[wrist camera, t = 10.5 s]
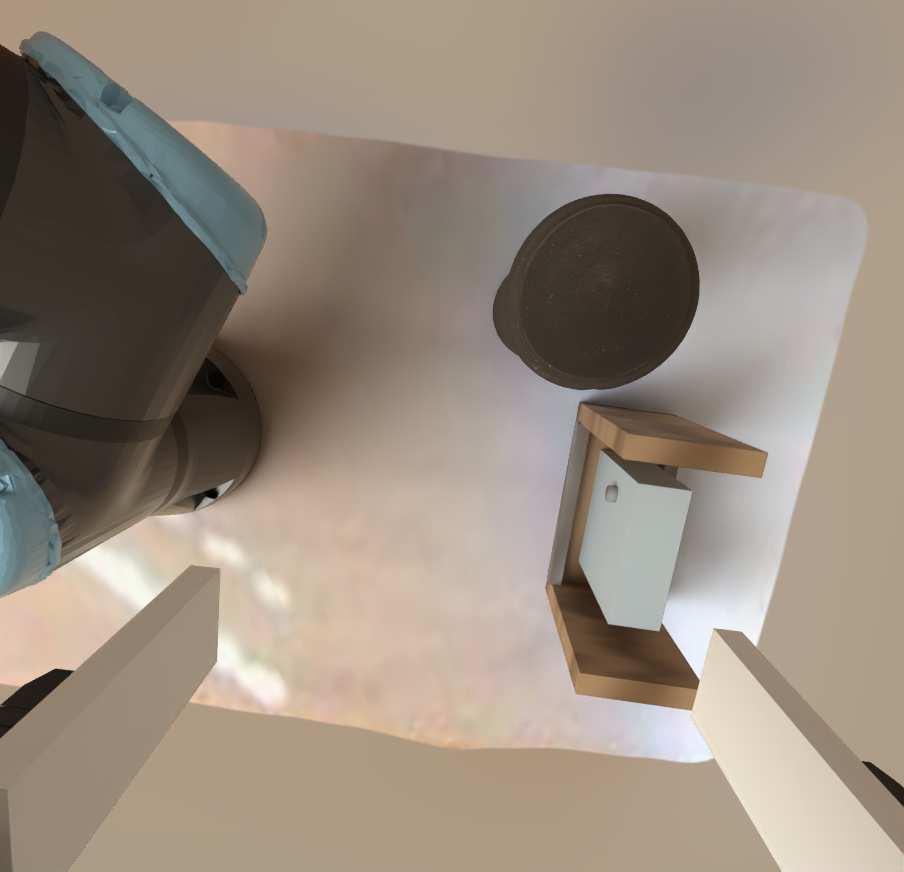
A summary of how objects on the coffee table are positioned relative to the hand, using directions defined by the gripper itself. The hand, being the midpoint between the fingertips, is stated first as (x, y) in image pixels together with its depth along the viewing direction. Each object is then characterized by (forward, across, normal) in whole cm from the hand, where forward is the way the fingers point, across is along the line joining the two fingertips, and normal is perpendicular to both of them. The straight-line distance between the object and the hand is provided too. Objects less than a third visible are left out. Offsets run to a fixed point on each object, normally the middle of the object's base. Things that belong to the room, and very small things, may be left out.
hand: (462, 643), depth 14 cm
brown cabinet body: (+31, +14, -5) cm, 34 cm away
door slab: (+30, +14, -5) cm, 33 cm away
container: (+31, +6, +10) cm, 33 cm away
